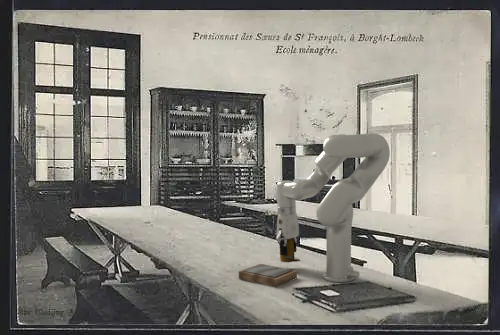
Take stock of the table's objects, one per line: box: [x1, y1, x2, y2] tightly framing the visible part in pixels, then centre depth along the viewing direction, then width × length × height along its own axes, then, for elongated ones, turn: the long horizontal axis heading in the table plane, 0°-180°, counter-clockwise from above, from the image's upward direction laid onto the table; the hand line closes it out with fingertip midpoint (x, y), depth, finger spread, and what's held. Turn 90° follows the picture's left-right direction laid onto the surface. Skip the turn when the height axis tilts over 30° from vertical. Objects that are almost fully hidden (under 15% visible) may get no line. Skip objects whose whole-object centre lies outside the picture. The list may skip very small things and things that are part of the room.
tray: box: [238, 263, 298, 288], centre depth 220 cm, size 18×14×3 cm
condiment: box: [278, 237, 301, 264], centre depth 233 cm, size 7×8×12 cm
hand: (288, 253), depth 232 cm, fingers closed on condiment, 6 cm apart
